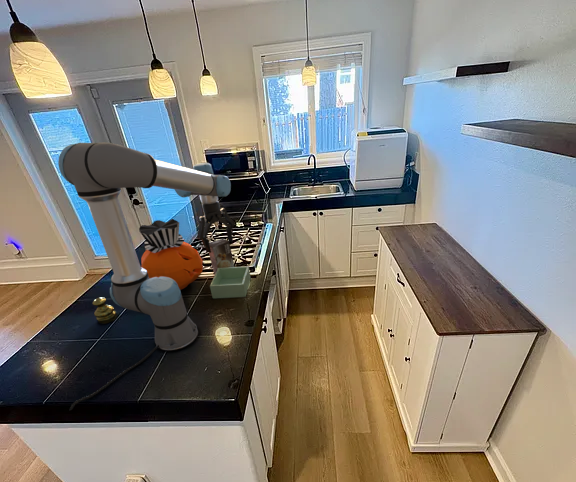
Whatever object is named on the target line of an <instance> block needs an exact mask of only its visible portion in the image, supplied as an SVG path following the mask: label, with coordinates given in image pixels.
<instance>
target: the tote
mask: <svg viewBox="0 0 576 482" xmlns="http://www.w3.org/2000/svg"><path fill="white" fill-rule="evenodd" d="M251 277H252V276H251V271H250V266H249V265H248V266H247V265H246V266H235V267H229V268H218V270H217V272H216V274H214V276H213V278H212V280H211V283H210V285H209V289H210V292H211V297H212V299H230V298H246V296H247V294H248V291H249V290H248V289H249V286H250V282H251Z"/></svg>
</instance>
